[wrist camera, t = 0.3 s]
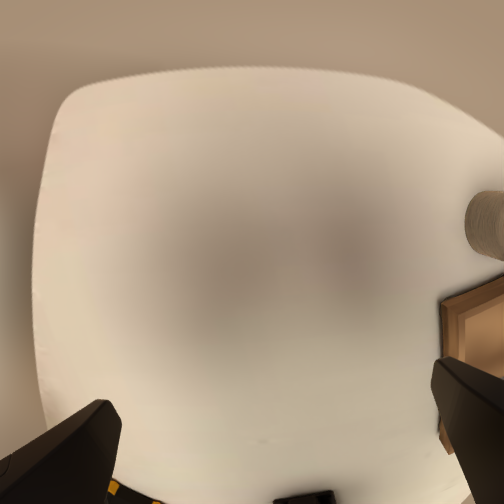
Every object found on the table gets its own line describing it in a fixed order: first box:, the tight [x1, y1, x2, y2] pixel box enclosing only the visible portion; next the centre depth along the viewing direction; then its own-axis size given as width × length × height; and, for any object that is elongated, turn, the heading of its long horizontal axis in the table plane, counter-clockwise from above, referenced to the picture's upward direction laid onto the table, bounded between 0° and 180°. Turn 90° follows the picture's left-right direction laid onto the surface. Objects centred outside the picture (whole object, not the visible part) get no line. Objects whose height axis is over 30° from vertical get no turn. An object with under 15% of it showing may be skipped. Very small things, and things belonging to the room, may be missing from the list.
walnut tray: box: [439, 275, 504, 455], centre depth 20 cm, size 15×9×3 cm, turn 16°
